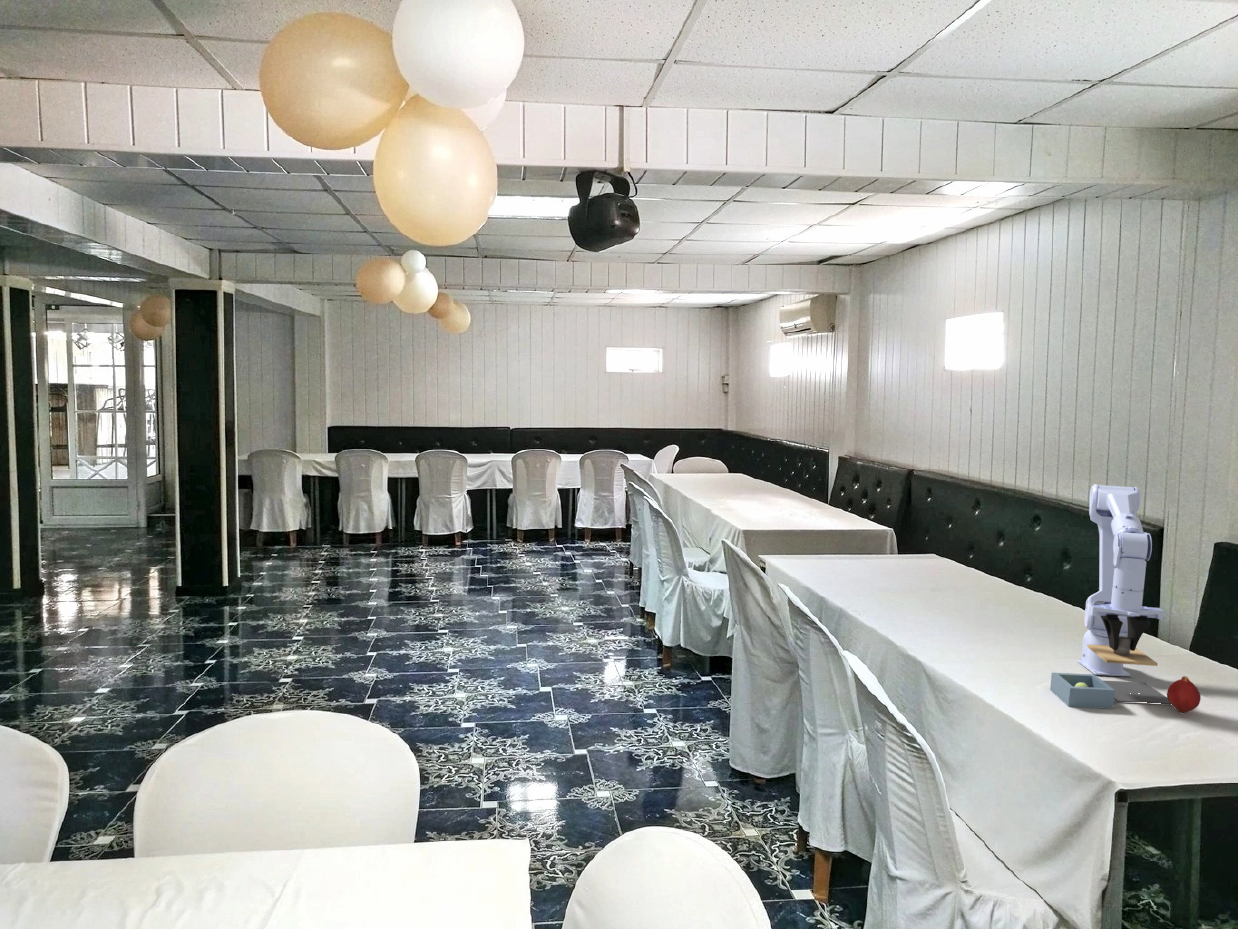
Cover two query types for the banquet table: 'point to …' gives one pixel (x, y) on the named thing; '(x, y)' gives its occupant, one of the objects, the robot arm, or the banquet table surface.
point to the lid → (1122, 653)
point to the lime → (1081, 685)
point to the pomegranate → (1183, 695)
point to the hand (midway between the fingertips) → (1121, 648)
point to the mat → (1136, 692)
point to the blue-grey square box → (1082, 690)
